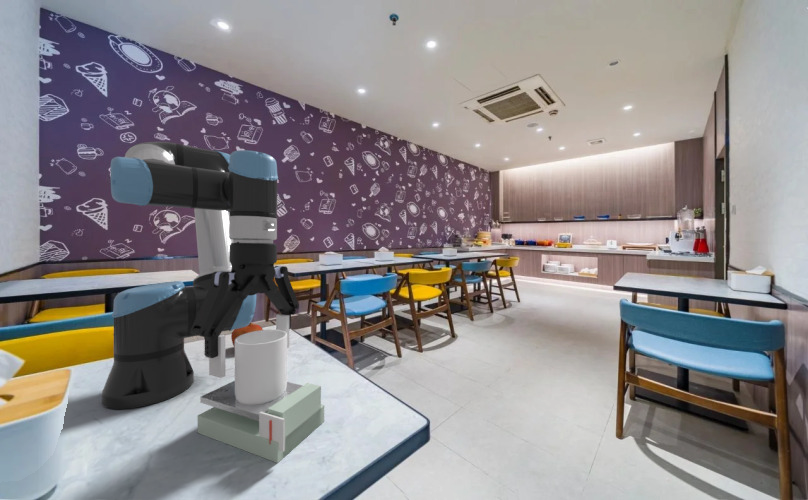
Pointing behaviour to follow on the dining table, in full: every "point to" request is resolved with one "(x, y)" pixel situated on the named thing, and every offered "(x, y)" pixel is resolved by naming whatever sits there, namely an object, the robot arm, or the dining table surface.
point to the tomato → (244, 331)
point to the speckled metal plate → (228, 402)
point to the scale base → (268, 424)
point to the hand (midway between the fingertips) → (253, 359)
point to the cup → (260, 366)
